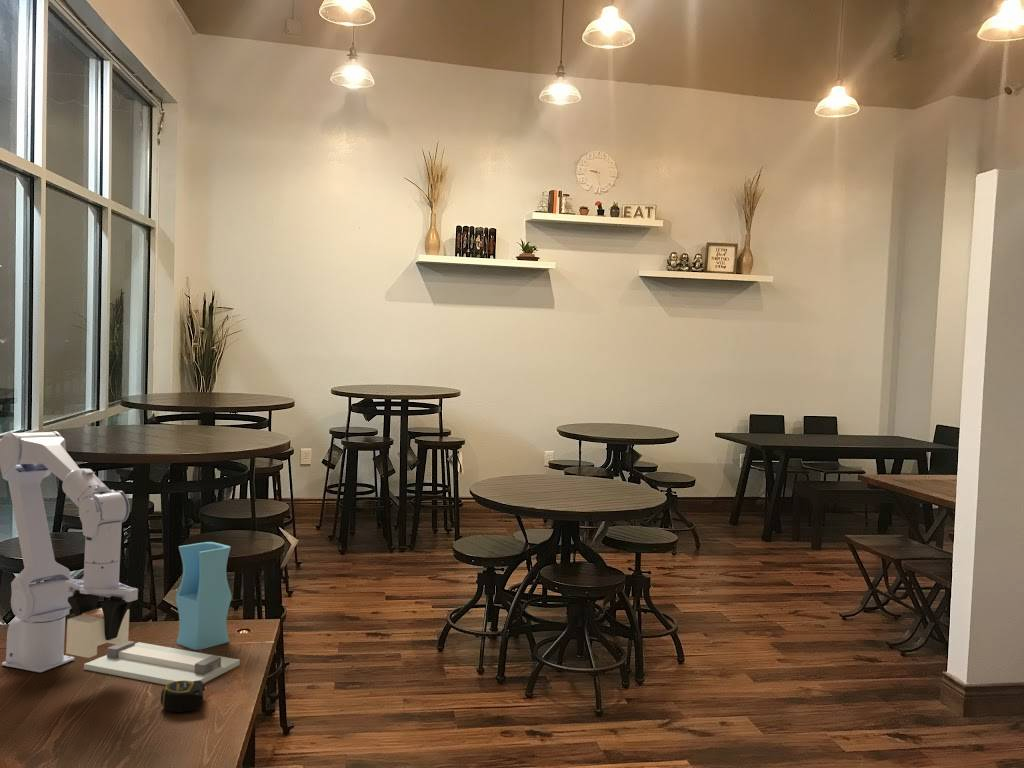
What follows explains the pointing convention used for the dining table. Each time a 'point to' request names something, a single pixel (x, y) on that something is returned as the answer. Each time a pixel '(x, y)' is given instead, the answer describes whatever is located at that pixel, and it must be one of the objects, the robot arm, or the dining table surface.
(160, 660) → the rail board
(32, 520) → the robot arm
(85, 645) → the block
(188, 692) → the tape measure
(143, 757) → the dining table surface
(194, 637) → the vase
